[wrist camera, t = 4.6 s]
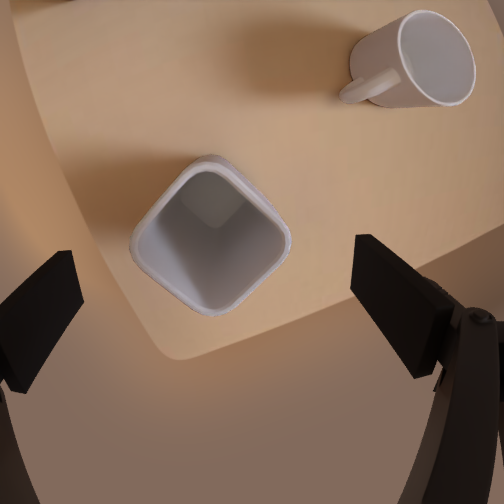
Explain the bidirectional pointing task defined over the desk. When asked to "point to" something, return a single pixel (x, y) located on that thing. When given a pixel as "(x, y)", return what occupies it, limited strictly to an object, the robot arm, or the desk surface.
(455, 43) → the mug
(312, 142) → the desk surface
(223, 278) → the cup
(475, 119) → the desk surface
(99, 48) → the desk surface
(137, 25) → the desk surface
